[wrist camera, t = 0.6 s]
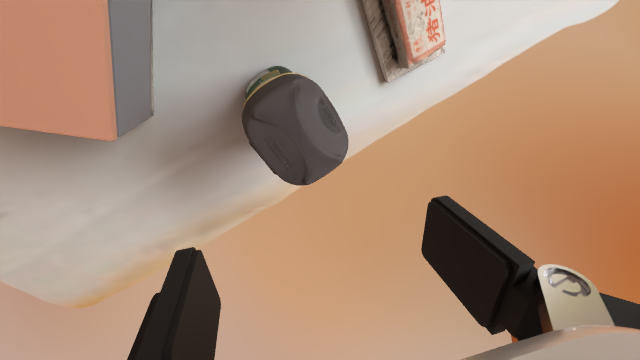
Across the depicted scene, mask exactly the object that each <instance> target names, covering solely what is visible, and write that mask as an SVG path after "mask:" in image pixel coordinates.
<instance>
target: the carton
mask: <svg viewBox="0 0 640 360" xmlns="http://www.w3.org/2000/svg"><path fill="white" fill-rule="evenodd" d="M108 14H109V28H110V43H111V57H112V71H113V85H114V99H115V113H116V127H117V137H120V136H121V135H123V134H125V133H126V132H128V131H129V130H131V129H132V128H134V127H135V126H137V125H139V124H140V123H142V122H143V121H145V120H146V119H148V118H149V117H151V116H153V41H152V0H108Z"/></svg>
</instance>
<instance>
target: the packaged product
mask: <svg viewBox="0 0 640 360" xmlns="http://www.w3.org/2000/svg"><path fill="white" fill-rule="evenodd" d="M362 3H363V7H364V11H365V14H366V18H367V22H368V26H369V29H370V33H371V37H372V40H373V44H374V47H375V50H376V53H377V56H378V60H379V63H380V66H381V69H382V72H383V76H384V78H385V81H387V82H388V83H389V82H391V81H392V80H394V79H396V78H398V77H400V76H402V75H404V74H406V73H407V72H409V71H411V70H413V69H414V68H416V67H418V66H420V65H422V64H424V63H426V62H428V61H430V60H432V59H433V58H435V57H437V56H438V55H440V54H442V53H444V52H445V50H444V45H445V36H444V27H443V20H442V13H441V6H440V1H439V0H362Z"/></svg>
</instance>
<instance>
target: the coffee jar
mask: <svg viewBox="0 0 640 360" xmlns="http://www.w3.org/2000/svg"><path fill="white" fill-rule="evenodd" d="M242 123H243V127H244V130H245V133H246V136H247V138H248V139H249V143H250V145H251V146H252V147H253V149H254V150H255V151H256V152H257V153H258V155H259V156H260V157H261V158H262V159H263V160H264V162H265V163H266V164H267V165H268V167H269V168H270V169H271V170H272V171H273V173H274V174H276V175H278V176H279V177H280V178H281V179H282V180H284V181H286V182H288V183H290V184H294V185H309V184H311V183H313V182H315V181H317V180H319V179H320V178H322V177H324V176H325V175H327V174H328V173H329V172H331V171H332V170H333V169H335V168H336V167H337V166H339V165H340V164H341V163H342V162H343V160H344V158H345V156H346V153H347V150H348V135H347V132H346V130H345V127H344V126H343V123H342V121H341V119H340V117H339V115H338V113H337V112H336V110H335V108H334V107H333V105H332V103H331V102H330V101H329V99H328V97H327V96H326V95H325V93H324V92H323V90H322V89H321V88H320V87H319V86H318V85H317V84H316V83H315V82H313V81H312V80H310V79H309V78H307V77H306V76H304V75H301V74H298V73H293V72H291V71H290V70H288V69H287V68H285V67H282V66H274V67H271V68H268V69H267V70H265V71H263V72H261V73H260V74H259V75H257V76H256V77H255V78H254V79H253V80H252V81H251V82H250V83H249V85H248V87H247V89H246V101H245V103H244V106H243V110H242Z"/></svg>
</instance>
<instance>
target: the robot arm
mask: <svg viewBox="0 0 640 360" xmlns="http://www.w3.org/2000/svg"><path fill="white" fill-rule="evenodd" d="M422 254H423V256H424V258H425V259H426V260H427V261H428V262H429V264H430V265H431V266H432V267H433V269H434V270H435V271H436V272H437V274H438V275H439V276H440V277H441V278H442V279H443V281H444V282H445V283H446V284H447V286H448V287H449V288H450V289H451V291H452V292H453V293H454V294H455V295H456V296H457V298H458V299H459V300H460V301H461V303H462V304H463V305H464V306H465V307H466V309H467V310H468V311H469V312H470V314H471V315H472V316H473V317H474V318H475V320H476V321H477V322H478V323H479V324H480V325H481V326H483V327H486V328H487V330H488V331H489V332H490V333H491V334H492V335H493V334H497V333H500V332H503V331H505V329H507V331H508V332H509V333H510V334H511V337H512V343H511V344H508V345H505V346H502V347H498V348H496V349H492V350H489V351H486V352H483V353H480V354H477V355H474V356H471V357H467V358H465V359H462V360H640V304H636V303H633V302H630V301H626V300H623V299H619V298H616V297H613V296H609V295H606V294H602V293H599V292H598V290H597V289H596V287H595V286H594V284H593V283H592V282H591V281H590V280H588V279H587V278H586V277H585V276H583V275H581V274H580V273H578V272H576V271H574V270H572V269H570V268H566V267H564V266H560V265H554V264H548V265H544V266H540V268H539V269H536V268H535V267H534V266H533V265H534V263H535V261H533V260H532V259H531V258H529V257H528V256H527V255H526V254H524V253H523V252H522V251H520V250H519V249H518V248H516V247H515V246H513V245H512V244H511V243H510V242H508V241H507V240H506V239H504V238H503V237H501V236H500V235H499V234H498V233H496V232H495V231H494V230H492V229H491V228H490V227H488V226H487V225H486V224H484V223H483V222H482V221H480V220H479V219H478V218H476V217H475V216H474V215H472V214H471V213H470V212H468V211H467V210H466V209H464V208H463V207H462V206H460V205H459V204H458V203H456V202H455V201H454V200H452V199H451V198H450V197H448V196H441V197H436V198H433V199H432V200H431V202H429V204H428V208H427V215H426V221H425V229H424V235H423V242H422ZM220 309H221V303H220V298H219V295H218V292H217V289H216V287H215V285H214V282H213V279H212V277H211V274H210V271H209V269H208V266H207V264H206V261H205V259H204V256H203V254H202V252H201V250H197V251H196V249H195V248H194V247H192V248H187V249H182V250H178V251H176V253H175V255H174V258H173V260H172V263H171V265H170V268H169V271H168V273H167V276H166V279H165V281H164V284H163V287H162V289H161V292H160V293H156V294H155V295H154V296H153V298H152V300H151V302H150V305H149V307H148V310H147V312H146V314H145V317H144V319H143V322H142V324H141V327H140V329H139V332H138V334H137V337H136V339H135V342H134V344H133V347H132V349H131V351H130V354H129V356H128V359H127V360H214V357H215V348H216V340H217V332H218V324H219V317H220Z"/></svg>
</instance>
